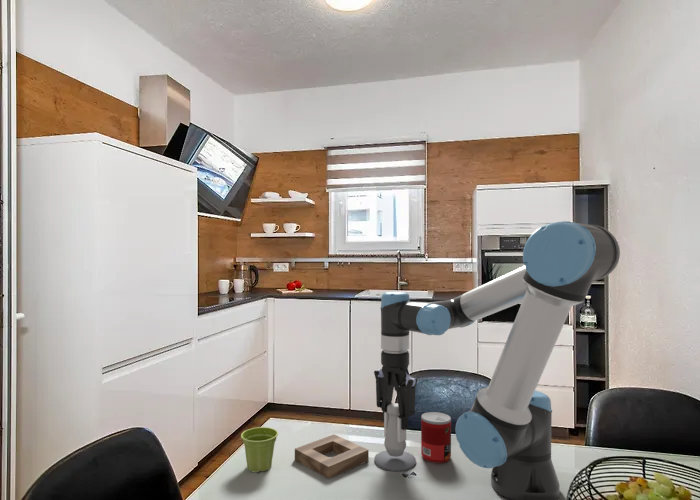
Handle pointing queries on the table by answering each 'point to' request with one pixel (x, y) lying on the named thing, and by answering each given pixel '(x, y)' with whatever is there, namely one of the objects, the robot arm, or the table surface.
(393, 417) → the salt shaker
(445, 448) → the canned food
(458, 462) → the table surface
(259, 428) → the plant pot
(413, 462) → the coaster
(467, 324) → the robot arm
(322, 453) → the collar block
